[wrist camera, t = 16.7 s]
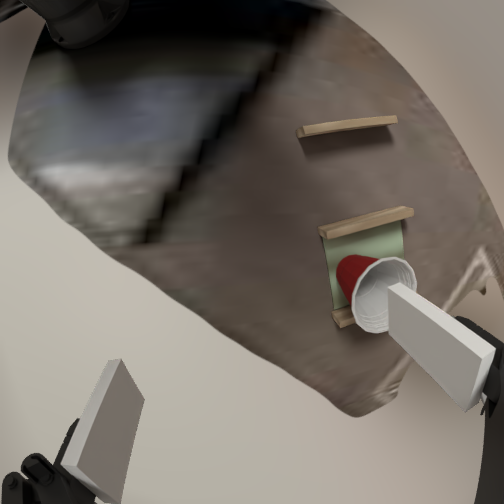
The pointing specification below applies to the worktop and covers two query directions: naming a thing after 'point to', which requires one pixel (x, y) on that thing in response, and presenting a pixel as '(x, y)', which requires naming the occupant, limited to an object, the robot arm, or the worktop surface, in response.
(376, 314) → the plastic cup
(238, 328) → the worktop surface
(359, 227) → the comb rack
